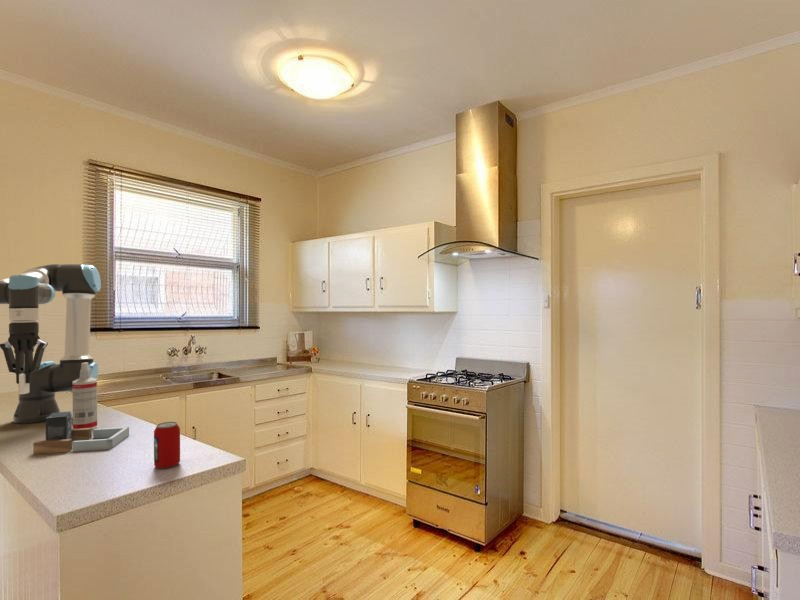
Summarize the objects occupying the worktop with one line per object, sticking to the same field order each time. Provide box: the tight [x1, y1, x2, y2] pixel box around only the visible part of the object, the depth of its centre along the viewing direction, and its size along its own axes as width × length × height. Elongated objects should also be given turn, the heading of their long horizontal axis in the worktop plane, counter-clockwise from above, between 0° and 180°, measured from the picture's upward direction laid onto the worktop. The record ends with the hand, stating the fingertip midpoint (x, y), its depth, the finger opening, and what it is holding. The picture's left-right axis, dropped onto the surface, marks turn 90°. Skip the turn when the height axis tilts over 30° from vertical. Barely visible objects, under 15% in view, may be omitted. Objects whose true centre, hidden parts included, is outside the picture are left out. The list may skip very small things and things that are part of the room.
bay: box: [72, 426, 130, 452], centre depth 151 cm, size 15×11×3 cm
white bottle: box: [72, 362, 98, 431], centre depth 169 cm, size 8×8×25 cm
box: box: [45, 411, 73, 440], centre depth 149 cm, size 8×6×11 cm
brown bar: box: [32, 428, 93, 455], centre depth 149 cm, size 15×10×4 cm, turn 11°
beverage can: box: [153, 421, 181, 470], centre depth 130 cm, size 7×7×12 cm
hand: (24, 393), depth 147 cm, fingers closed
